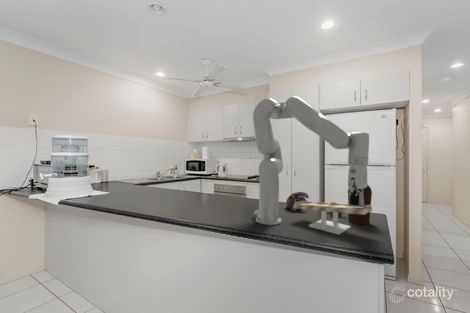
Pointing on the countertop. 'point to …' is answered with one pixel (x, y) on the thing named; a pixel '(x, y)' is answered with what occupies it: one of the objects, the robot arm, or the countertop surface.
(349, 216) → the olive oil
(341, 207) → the beam
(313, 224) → the trestle
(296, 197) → the decorative flower
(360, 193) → the iron weight
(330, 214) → the pottery mug
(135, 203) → the countertop surface
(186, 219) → the countertop surface
